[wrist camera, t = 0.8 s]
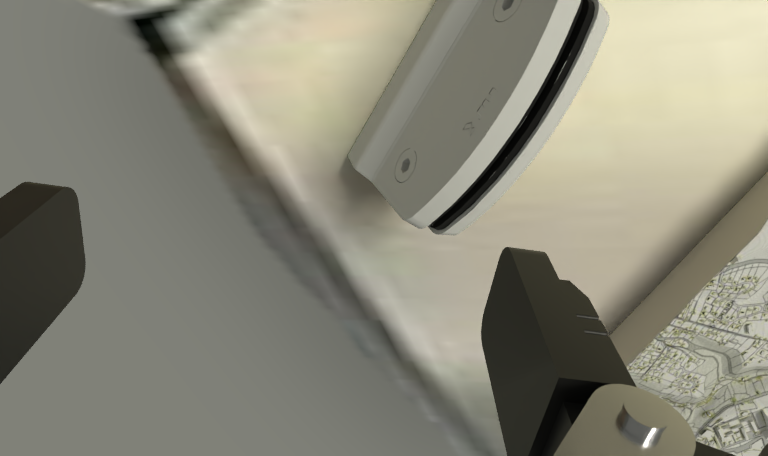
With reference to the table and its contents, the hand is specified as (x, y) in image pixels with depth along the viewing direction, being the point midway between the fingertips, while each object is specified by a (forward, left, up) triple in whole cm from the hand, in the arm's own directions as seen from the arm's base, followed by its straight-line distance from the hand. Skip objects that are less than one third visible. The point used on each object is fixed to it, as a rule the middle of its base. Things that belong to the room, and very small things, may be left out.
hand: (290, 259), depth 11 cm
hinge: (0, +7, -27) cm, 28 cm away
